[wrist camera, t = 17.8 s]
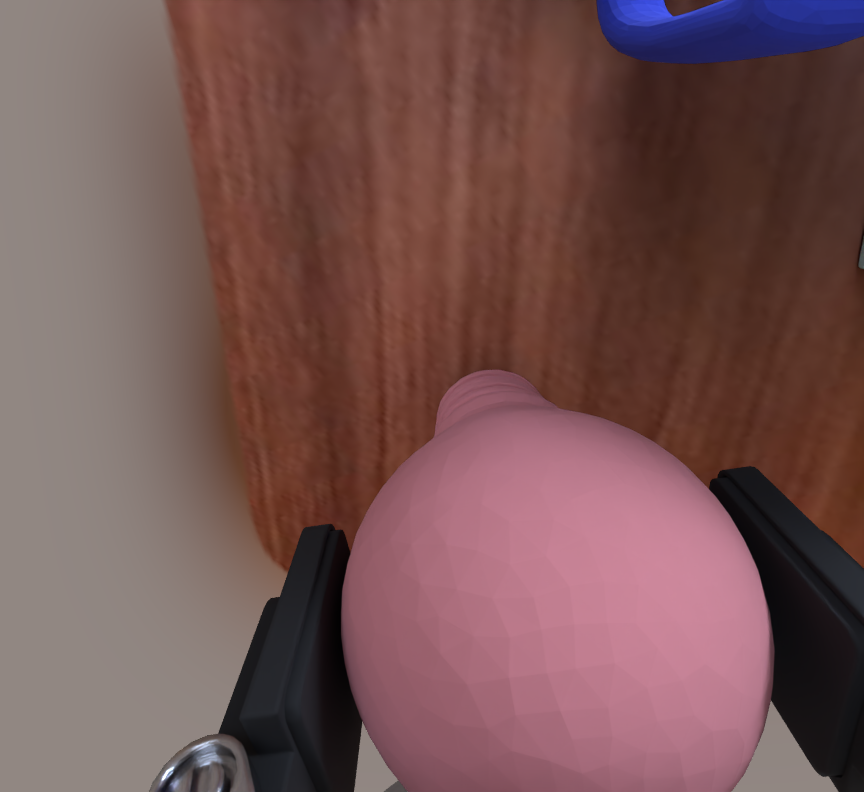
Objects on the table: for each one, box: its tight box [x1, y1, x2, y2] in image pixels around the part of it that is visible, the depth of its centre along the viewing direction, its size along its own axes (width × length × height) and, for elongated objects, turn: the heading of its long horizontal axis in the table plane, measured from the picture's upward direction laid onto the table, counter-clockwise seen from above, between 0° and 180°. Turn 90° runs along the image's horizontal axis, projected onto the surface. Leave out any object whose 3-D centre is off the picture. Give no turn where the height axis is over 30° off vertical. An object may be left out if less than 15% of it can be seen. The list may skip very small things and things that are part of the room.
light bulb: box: [341, 370, 775, 792], centre depth 12 cm, size 7×7×12 cm
